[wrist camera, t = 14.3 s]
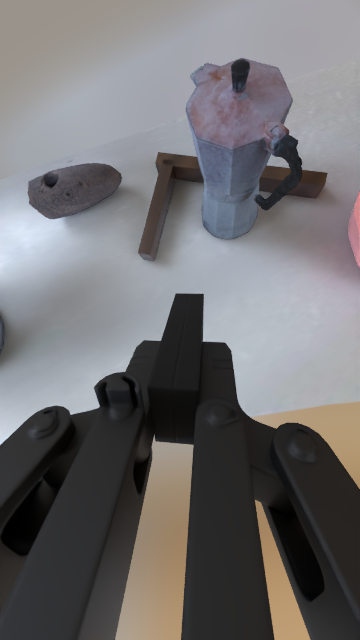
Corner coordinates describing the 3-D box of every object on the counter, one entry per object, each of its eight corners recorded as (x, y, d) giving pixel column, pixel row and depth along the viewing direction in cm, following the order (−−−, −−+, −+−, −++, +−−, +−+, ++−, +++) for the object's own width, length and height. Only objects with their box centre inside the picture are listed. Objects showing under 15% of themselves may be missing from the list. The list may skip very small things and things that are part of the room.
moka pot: (219, 166, 38) (228, -20, 19) (287, 225, 36) (381, 84, 16) (178, 205, 39) (144, 64, 19) (243, 267, 36) (281, 179, 16)
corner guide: (137, 258, 39) (131, 251, 36) (162, 166, 40) (158, 152, 37) (295, 289, 35) (303, 285, 32) (317, 186, 36) (327, 172, 33)
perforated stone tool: (123, 173, 41) (106, 139, 34) (131, 199, 40) (114, 170, 33) (49, 202, 42) (18, 175, 35) (55, 227, 42) (24, 205, 35)
